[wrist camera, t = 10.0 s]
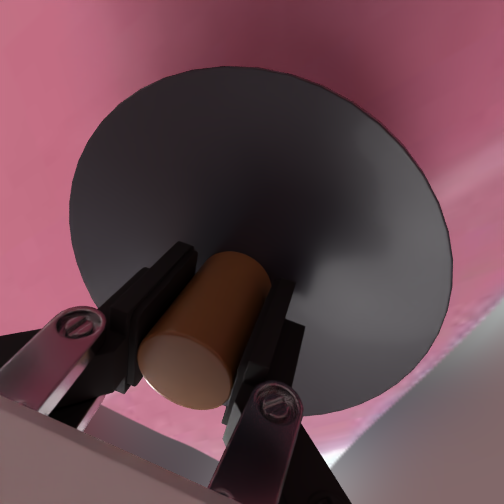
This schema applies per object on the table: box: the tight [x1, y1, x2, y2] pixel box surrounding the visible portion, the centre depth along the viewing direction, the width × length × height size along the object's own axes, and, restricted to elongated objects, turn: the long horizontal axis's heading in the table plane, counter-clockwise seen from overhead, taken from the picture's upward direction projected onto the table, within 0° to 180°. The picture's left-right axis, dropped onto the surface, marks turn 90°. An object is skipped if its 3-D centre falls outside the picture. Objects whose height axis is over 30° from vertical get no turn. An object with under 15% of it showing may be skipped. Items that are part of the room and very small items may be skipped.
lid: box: [69, 66, 453, 416], centre depth 12 cm, size 14×14×6 cm
